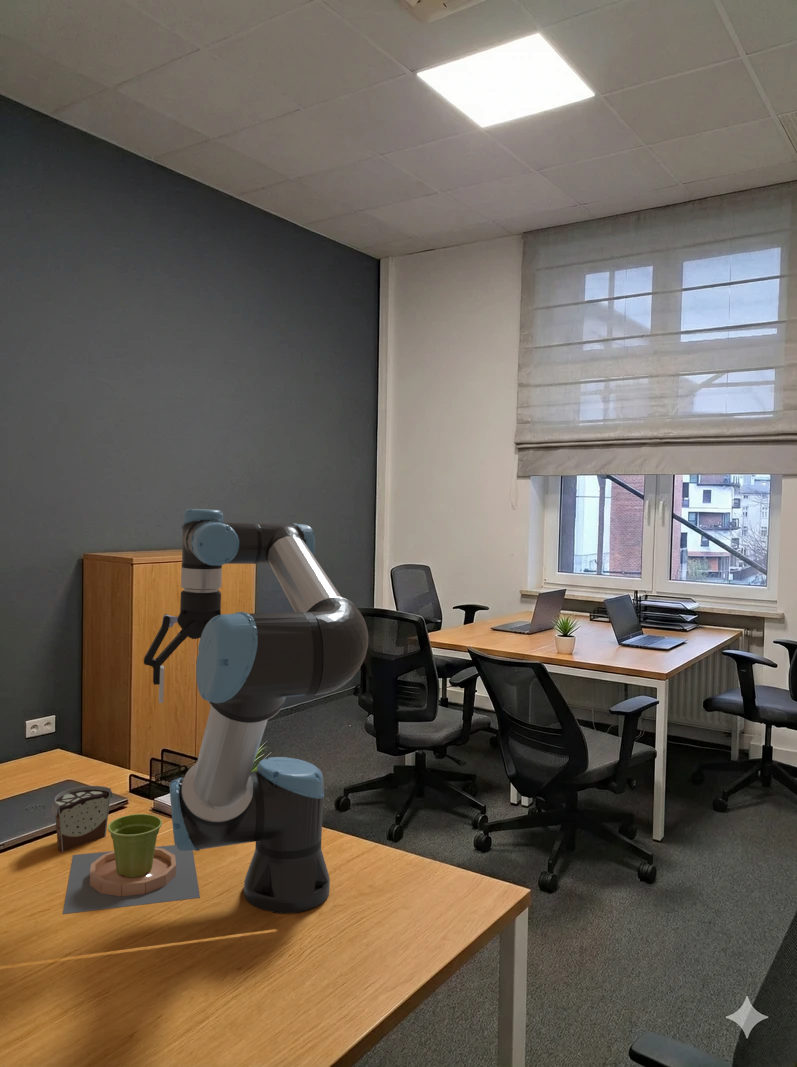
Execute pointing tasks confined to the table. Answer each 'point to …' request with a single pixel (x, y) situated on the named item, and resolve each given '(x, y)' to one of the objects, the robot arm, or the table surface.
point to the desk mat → (90, 899)
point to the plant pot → (134, 843)
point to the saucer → (119, 885)
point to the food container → (81, 815)
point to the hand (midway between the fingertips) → (197, 699)
